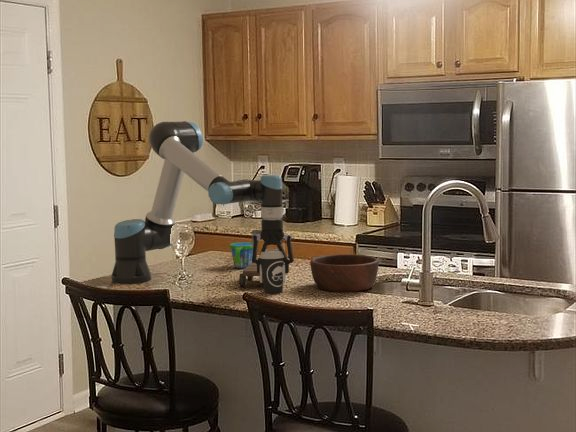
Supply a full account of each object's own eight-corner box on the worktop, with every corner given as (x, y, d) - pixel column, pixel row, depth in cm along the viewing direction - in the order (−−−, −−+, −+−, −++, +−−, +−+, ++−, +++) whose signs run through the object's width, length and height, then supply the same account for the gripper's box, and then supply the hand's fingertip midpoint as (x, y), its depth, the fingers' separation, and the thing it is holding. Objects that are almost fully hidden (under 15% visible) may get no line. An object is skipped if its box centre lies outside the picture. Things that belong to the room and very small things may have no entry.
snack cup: (247, 271, 317) (246, 247, 316) (224, 270, 321) (223, 246, 320) (261, 265, 332) (261, 241, 330) (239, 264, 335) (238, 240, 334)
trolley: (278, 288, 281) (277, 236, 279) (239, 288, 283) (238, 236, 281) (286, 278, 300) (285, 229, 297) (249, 278, 302) (248, 229, 300)
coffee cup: (288, 289, 279) (287, 248, 278) (285, 295, 270) (283, 252, 268) (262, 289, 280) (260, 249, 279) (258, 295, 271) (256, 253, 269)
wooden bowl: (343, 278, 300) (343, 251, 299) (392, 286, 282) (392, 259, 281) (296, 287, 284) (296, 259, 282) (346, 297, 265) (345, 267, 264)
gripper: (241, 219, 270) (242, 283, 273) (299, 219, 267) (300, 284, 270) (245, 217, 278) (247, 279, 280) (302, 217, 274) (302, 280, 277)
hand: (273, 282), depth 275 cm, fingers open, 7 cm apart
